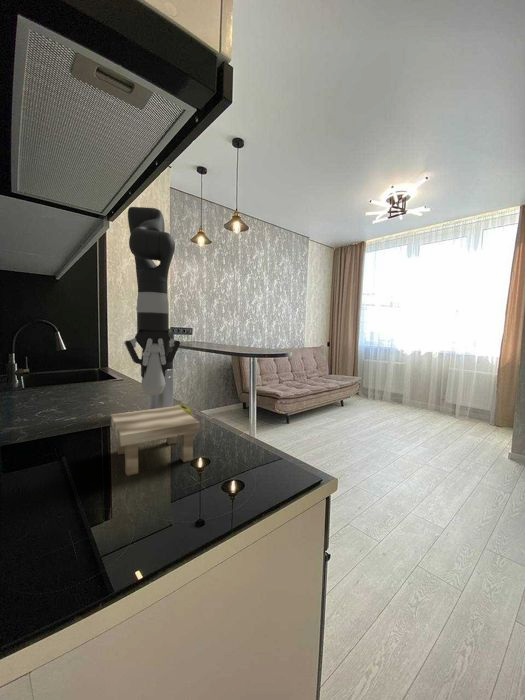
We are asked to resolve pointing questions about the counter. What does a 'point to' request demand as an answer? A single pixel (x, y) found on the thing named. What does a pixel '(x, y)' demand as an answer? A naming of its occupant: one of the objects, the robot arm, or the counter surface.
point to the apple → (185, 408)
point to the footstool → (153, 432)
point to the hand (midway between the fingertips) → (153, 379)
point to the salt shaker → (153, 373)
